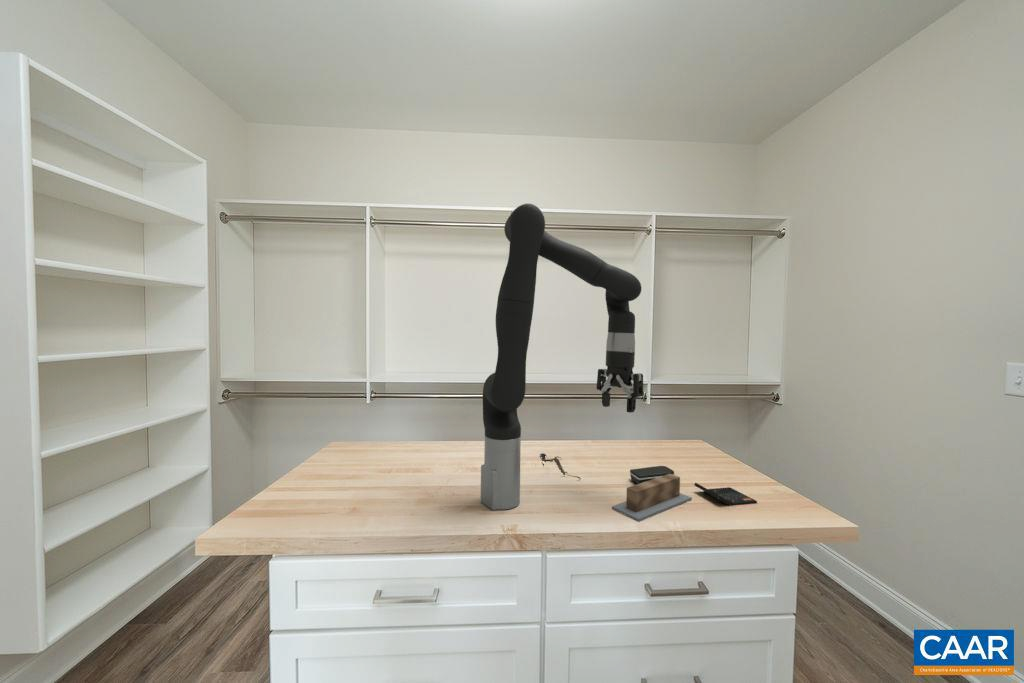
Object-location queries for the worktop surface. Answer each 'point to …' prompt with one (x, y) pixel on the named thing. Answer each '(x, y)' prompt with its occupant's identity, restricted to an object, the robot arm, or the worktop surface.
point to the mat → (651, 508)
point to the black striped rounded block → (649, 473)
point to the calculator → (728, 495)
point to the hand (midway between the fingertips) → (617, 409)
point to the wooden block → (652, 492)
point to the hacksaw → (556, 462)
